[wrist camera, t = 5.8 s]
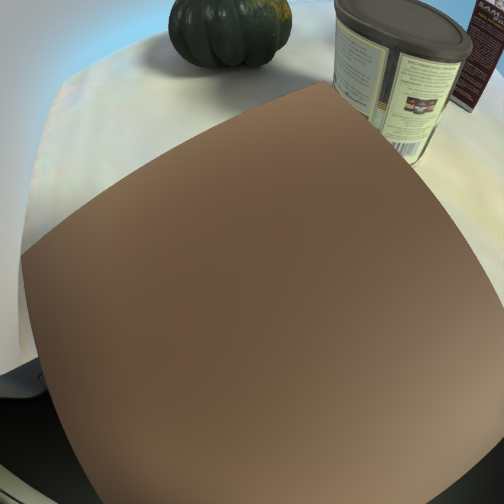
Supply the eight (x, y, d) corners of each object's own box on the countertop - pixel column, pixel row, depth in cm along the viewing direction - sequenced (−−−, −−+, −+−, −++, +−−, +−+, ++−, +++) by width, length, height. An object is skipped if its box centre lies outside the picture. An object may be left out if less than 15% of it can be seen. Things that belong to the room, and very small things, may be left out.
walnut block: (351, 365, 13) (536, 397, 2) (265, 413, 13) (168, 582, 2) (304, 284, 15) (324, 81, 3) (220, 330, 15) (21, 256, 3)
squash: (242, 70, 23) (270, -54, 15) (137, 65, 28) (159, -37, 20) (293, 83, 34) (313, -9, 26) (205, 69, 39) (221, -11, 31)
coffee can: (377, 89, 28) (394, -14, 14) (441, 150, 24) (493, 46, 11) (307, 119, 27) (303, -6, 14) (374, 192, 24) (423, 61, 10)
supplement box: (472, 115, 25) (516, 20, 10) (441, 94, 26) (475, -6, 12) (480, 88, 26) (513, 8, 12) (452, 70, 28) (479, -13, 13)
